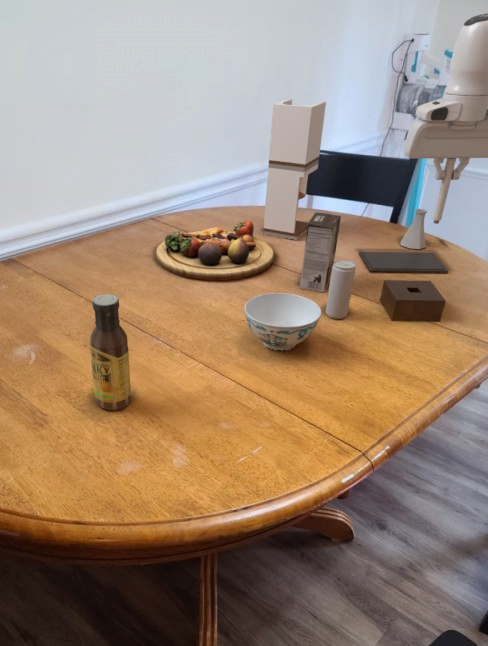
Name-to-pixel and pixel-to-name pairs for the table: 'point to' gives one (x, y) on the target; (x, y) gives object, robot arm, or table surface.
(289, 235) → the coffee grinder
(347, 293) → the beverage can
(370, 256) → the tablet
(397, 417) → the table surface
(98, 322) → the sauce bottle
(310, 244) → the coffee box
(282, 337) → the chinaware
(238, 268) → the wooden plate
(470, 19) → the robot arm
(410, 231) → the flask
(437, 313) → the stand
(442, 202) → the stylus
